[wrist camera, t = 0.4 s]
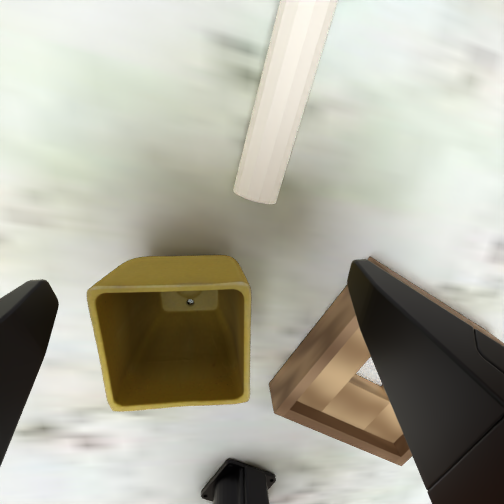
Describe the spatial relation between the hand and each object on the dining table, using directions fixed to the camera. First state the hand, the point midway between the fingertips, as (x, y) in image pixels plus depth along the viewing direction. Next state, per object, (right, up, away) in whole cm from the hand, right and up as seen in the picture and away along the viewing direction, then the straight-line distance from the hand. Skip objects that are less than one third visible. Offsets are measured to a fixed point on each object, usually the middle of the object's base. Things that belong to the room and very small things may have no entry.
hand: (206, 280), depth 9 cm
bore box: (+14, -10, +22) cm, 28 cm away
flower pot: (-4, -2, +17) cm, 18 cm away
